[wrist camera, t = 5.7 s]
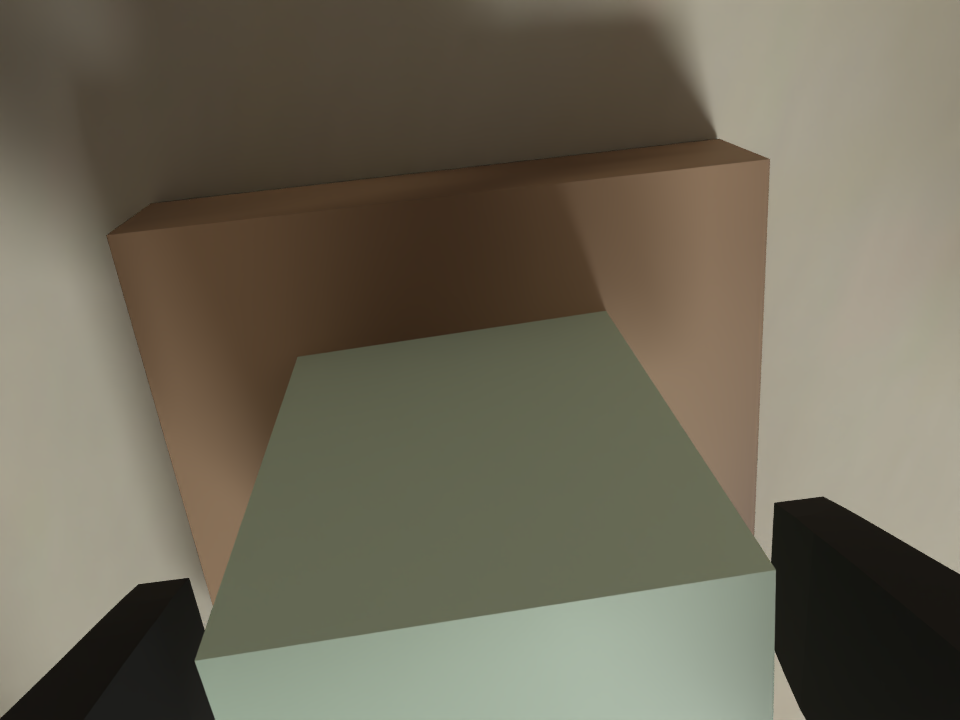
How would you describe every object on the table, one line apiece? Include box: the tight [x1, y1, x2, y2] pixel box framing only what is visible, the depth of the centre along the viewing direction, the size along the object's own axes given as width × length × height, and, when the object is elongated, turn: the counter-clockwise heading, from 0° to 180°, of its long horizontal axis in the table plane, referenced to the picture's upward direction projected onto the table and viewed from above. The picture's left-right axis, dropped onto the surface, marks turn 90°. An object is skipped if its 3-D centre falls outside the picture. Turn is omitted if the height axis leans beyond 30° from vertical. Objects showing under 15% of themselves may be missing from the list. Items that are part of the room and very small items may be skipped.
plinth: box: [106, 139, 770, 605], centre depth 14 cm, size 9×9×2 cm
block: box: [195, 311, 776, 720], centre depth 10 cm, size 4×4×6 cm
